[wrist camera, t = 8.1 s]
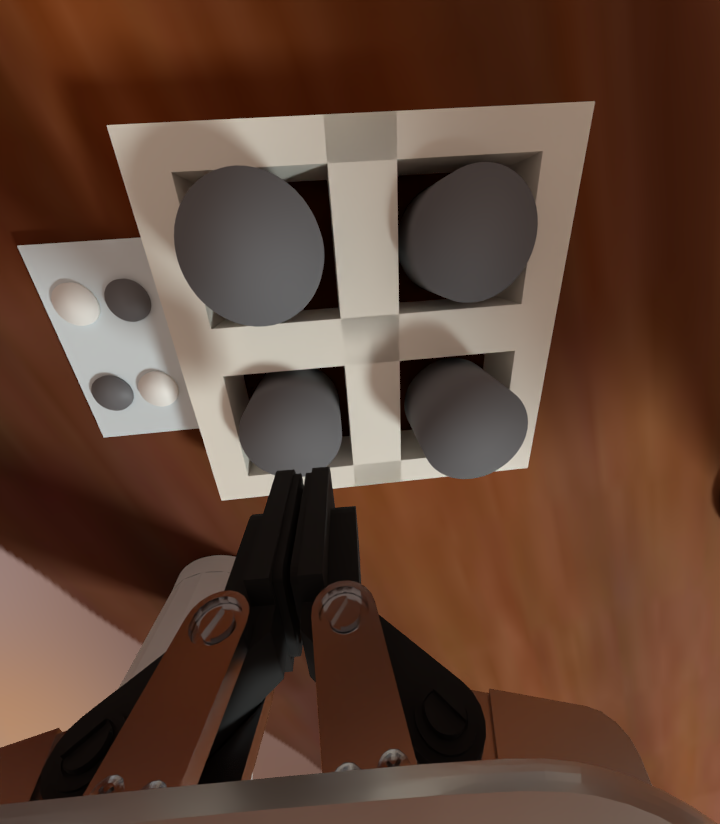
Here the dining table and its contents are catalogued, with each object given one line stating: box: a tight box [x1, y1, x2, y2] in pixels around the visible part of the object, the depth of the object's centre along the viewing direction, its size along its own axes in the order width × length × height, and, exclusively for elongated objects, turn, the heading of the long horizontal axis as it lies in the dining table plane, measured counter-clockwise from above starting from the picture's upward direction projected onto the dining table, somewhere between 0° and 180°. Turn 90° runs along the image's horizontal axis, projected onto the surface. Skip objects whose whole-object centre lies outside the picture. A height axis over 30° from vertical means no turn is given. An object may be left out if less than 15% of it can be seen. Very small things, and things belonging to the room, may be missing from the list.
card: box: [17, 238, 199, 437], centre depth 16 cm, size 5×9×1 cm, turn 3°
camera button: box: [398, 162, 538, 303], centre depth 14 cm, size 4×4×4 cm
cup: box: [119, 555, 253, 780], centre depth 19 cm, size 8×8×12 cm
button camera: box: [174, 165, 325, 327], centre depth 12 cm, size 4×4×4 cm
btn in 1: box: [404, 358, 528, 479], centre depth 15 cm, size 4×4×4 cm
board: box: [106, 101, 595, 500], centre depth 16 cm, size 16×15×3 cm
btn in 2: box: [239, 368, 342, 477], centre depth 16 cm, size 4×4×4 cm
